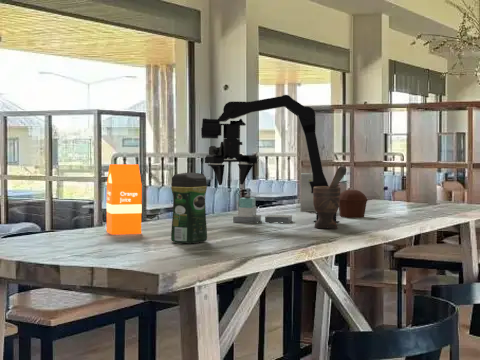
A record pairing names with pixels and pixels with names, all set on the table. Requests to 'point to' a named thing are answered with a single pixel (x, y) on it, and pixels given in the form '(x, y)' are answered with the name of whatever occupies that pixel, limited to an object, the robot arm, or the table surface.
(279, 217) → the stand
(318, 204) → the mortar and pestle
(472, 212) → the table surface
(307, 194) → the circuit breaker
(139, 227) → the orange juice
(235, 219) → the stand
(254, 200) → the housing
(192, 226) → the coffee jar
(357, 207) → the muffin
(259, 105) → the robot arm
